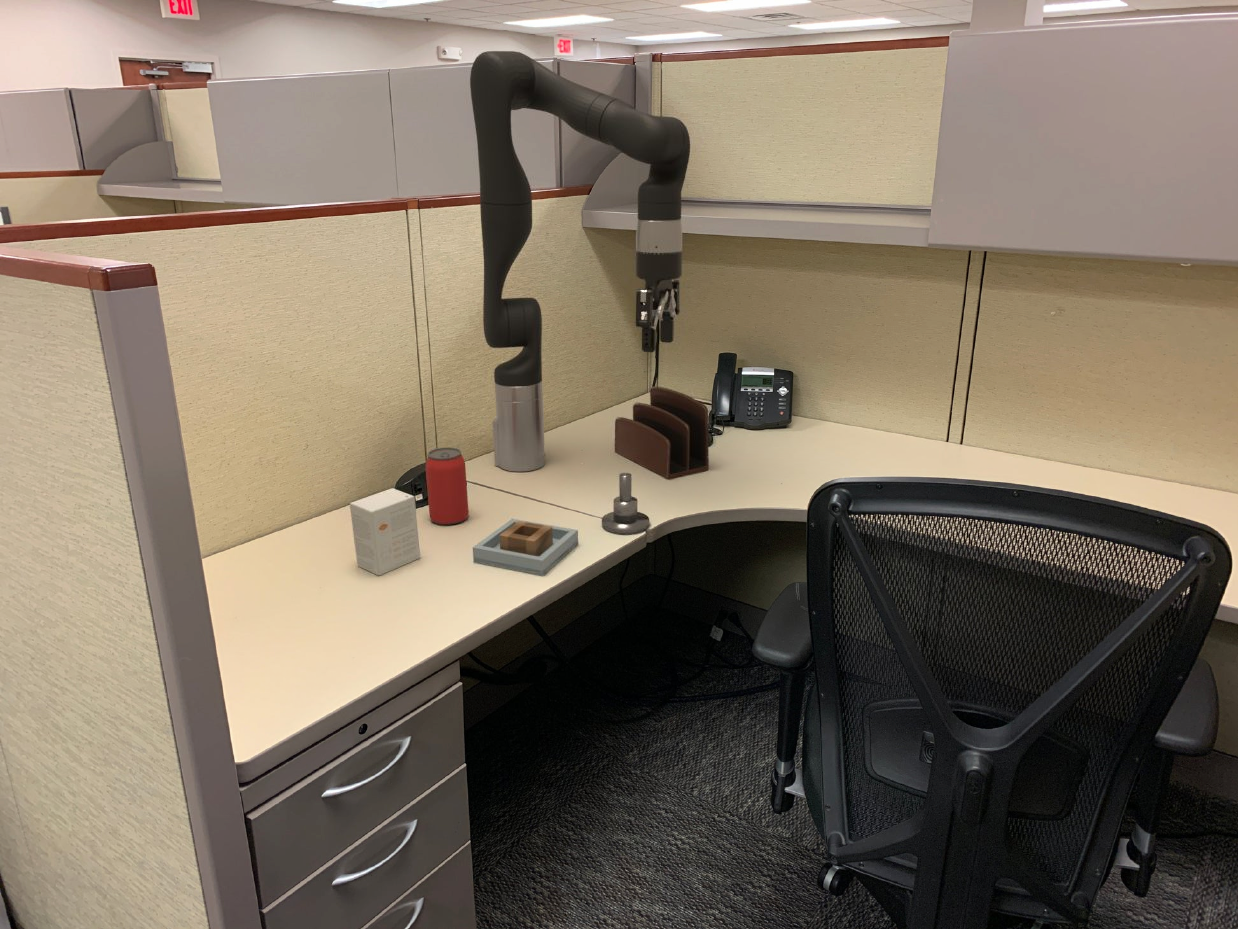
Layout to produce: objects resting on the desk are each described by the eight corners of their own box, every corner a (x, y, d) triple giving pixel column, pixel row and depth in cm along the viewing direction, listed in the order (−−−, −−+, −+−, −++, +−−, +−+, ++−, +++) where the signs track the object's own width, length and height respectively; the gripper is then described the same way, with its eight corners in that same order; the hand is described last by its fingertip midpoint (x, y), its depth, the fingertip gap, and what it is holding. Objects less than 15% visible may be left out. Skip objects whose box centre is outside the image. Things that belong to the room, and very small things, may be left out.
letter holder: (653, 444, 187) (653, 380, 183) (709, 471, 171) (711, 402, 167) (613, 452, 182) (613, 387, 178) (667, 481, 166) (668, 410, 162)
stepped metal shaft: (593, 530, 144) (593, 479, 141) (613, 512, 151) (612, 464, 148) (638, 537, 141) (638, 486, 138) (656, 519, 148) (656, 470, 145)
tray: (473, 562, 133) (472, 547, 132) (512, 532, 144) (512, 518, 143) (543, 575, 129) (542, 560, 128) (578, 544, 139) (577, 530, 138)
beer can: (431, 528, 145) (425, 460, 141) (428, 513, 151) (423, 448, 147) (470, 523, 147) (466, 456, 143) (466, 509, 153) (462, 444, 149)
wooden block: (534, 559, 132) (534, 541, 131) (500, 553, 134) (499, 535, 133) (552, 544, 137) (552, 526, 136) (519, 538, 139) (518, 520, 138)
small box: (399, 549, 138) (392, 487, 134) (421, 558, 135) (415, 495, 131) (355, 566, 132) (348, 502, 129) (378, 577, 129) (371, 511, 125)
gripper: (665, 253, 134) (664, 357, 139) (694, 245, 146) (692, 340, 152) (620, 251, 137) (621, 353, 142) (653, 243, 149) (652, 337, 154)
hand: (658, 346), depth 147 cm, fingers open, 8 cm apart
